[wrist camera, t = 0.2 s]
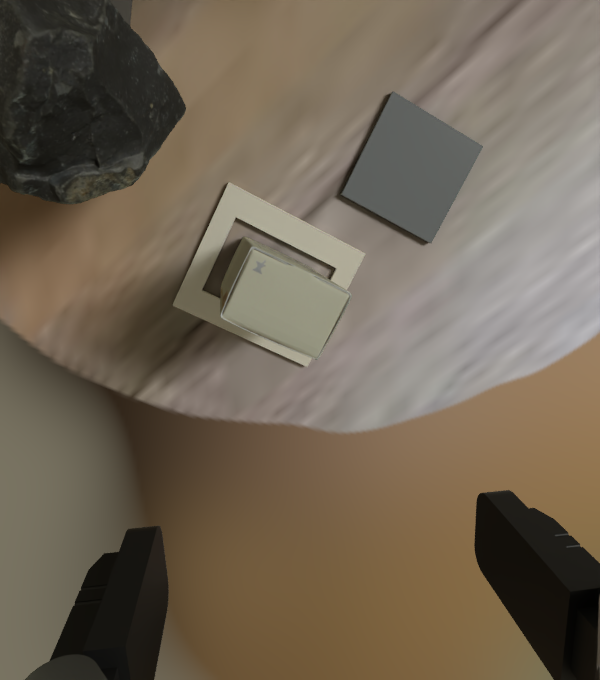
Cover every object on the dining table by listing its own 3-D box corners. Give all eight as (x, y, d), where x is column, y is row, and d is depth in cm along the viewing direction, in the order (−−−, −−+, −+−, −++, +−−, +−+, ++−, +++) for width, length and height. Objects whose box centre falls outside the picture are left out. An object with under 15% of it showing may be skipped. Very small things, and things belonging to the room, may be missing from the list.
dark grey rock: (-35, 160, 34) (-316, 102, 17) (8, -85, 31) (-278, -459, 14) (172, 225, 37) (112, 232, 20) (230, 4, 34) (220, -219, 17)
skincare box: (219, 286, 38) (211, 316, 26) (243, 234, 38) (245, 241, 26) (294, 321, 40) (319, 364, 28) (319, 271, 39) (354, 294, 27)
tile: (390, 92, 37) (392, 91, 36) (479, 147, 38) (483, 146, 38) (340, 194, 38) (341, 194, 37) (428, 243, 40) (431, 243, 39)
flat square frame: (228, 182, 37) (228, 182, 36) (364, 253, 39) (365, 253, 39) (172, 304, 38) (172, 305, 38) (306, 365, 41) (307, 366, 40)
